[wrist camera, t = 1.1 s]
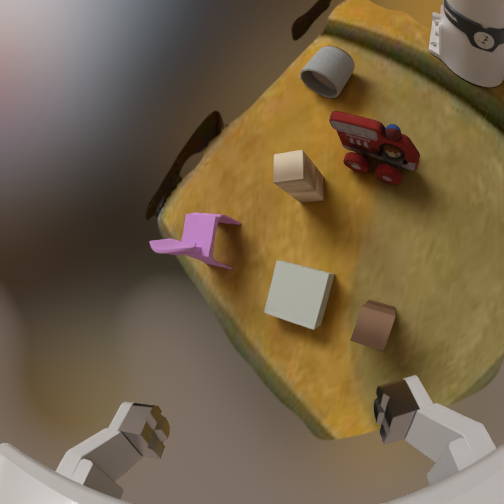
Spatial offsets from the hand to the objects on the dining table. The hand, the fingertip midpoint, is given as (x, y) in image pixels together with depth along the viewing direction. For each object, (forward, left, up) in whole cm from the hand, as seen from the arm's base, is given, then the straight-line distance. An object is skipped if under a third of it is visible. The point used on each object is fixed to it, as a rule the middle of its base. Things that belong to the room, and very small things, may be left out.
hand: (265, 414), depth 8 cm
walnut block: (0, +2, -32) cm, 32 cm away
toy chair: (-4, -27, -32) cm, 42 cm away
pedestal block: (0, -10, -32) cm, 34 cm away
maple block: (-16, -13, -32) cm, 38 cm away
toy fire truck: (-23, -3, -32) cm, 40 cm away
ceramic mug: (-38, -14, -32) cm, 52 cm away
